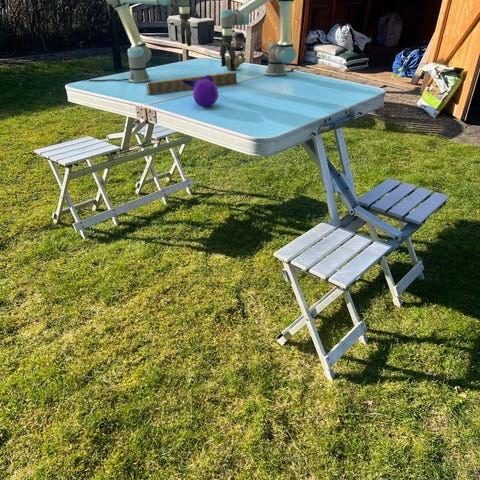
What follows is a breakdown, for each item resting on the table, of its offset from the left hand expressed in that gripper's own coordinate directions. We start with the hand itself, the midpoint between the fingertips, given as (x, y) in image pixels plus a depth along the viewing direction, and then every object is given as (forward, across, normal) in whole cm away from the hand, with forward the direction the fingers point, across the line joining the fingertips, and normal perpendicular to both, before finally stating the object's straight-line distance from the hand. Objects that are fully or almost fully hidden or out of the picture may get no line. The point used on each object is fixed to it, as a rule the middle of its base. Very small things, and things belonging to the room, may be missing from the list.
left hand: (186, 45), depth 336 cm
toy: (+23, -86, +19) cm, 91 cm away
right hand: (+12, -36, -18) cm, 43 cm away
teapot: (+23, +13, -43) cm, 51 cm away
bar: (+23, -39, +9) cm, 47 cm away
